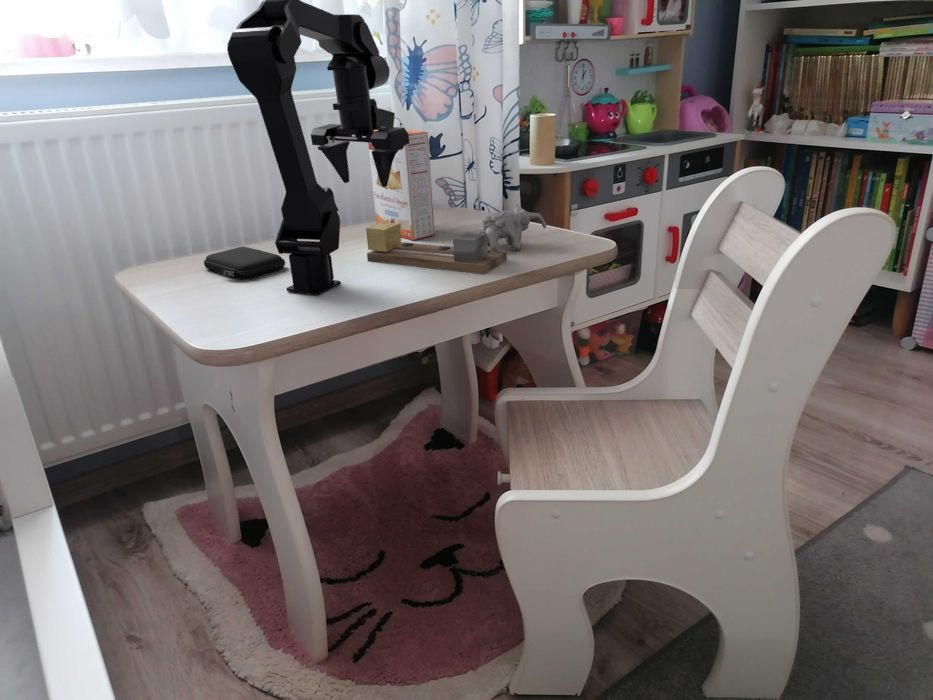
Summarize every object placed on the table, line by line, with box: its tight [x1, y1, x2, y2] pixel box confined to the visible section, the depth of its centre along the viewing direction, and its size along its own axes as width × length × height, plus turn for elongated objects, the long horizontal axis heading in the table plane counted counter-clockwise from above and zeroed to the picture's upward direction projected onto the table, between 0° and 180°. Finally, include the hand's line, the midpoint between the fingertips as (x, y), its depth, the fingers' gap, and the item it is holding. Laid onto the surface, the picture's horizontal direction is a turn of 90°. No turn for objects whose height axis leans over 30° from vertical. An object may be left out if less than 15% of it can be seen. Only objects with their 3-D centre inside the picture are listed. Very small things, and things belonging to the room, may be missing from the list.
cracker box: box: [367, 129, 436, 242], centre depth 142 cm, size 14×6×21 cm, turn 38°
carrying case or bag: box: [203, 246, 286, 281], centre depth 125 cm, size 11×3×15 cm
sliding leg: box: [365, 222, 402, 252], centre depth 128 cm, size 8×4×4 cm, turn 152°
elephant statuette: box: [481, 203, 547, 252], centre depth 131 cm, size 9×12×8 cm
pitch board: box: [366, 231, 508, 275], centre depth 124 cm, size 9×24×6 cm, turn 62°
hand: (365, 184), depth 128 cm, fingers open, 9 cm apart
